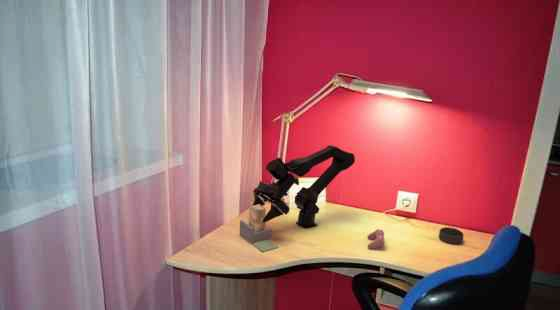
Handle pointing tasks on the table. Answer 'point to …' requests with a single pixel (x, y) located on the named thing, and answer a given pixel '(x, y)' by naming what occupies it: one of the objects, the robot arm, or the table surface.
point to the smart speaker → (451, 235)
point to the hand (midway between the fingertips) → (256, 217)
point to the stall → (249, 234)
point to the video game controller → (376, 239)
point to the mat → (265, 245)
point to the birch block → (257, 217)
